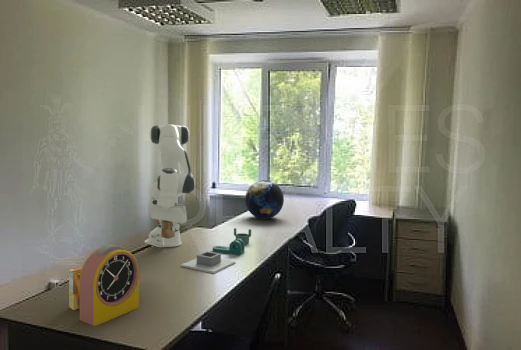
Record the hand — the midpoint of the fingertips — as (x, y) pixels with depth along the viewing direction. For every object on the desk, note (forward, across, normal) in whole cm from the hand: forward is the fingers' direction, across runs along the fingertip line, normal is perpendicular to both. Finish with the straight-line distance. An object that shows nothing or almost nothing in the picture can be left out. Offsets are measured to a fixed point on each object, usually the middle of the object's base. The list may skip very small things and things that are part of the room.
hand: (168, 229), depth 226 cm
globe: (+21, +19, -138) cm, 141 cm away
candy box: (+20, -1, +53) cm, 57 cm away
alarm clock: (+20, -15, +52) cm, 58 cm away
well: (+20, -12, -18) cm, 30 cm away
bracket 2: (+20, -4, -66) cm, 69 cm away
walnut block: (+4, 0, 0) cm, 4 cm away
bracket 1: (+21, -7, -44) cm, 49 cm away
